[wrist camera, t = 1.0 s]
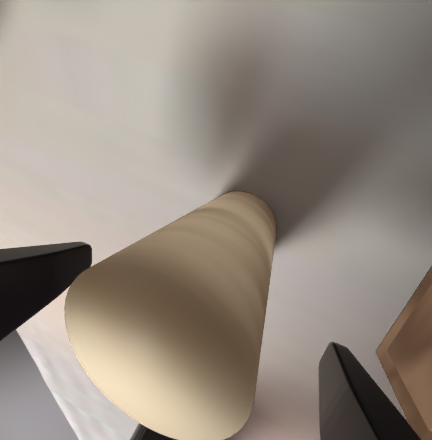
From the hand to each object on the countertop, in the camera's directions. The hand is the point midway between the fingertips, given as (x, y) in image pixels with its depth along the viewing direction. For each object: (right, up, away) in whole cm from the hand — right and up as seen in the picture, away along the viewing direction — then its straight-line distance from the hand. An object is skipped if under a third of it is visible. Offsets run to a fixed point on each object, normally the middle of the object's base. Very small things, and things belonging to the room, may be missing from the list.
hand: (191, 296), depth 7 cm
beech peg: (+2, +2, +7) cm, 7 cm away
